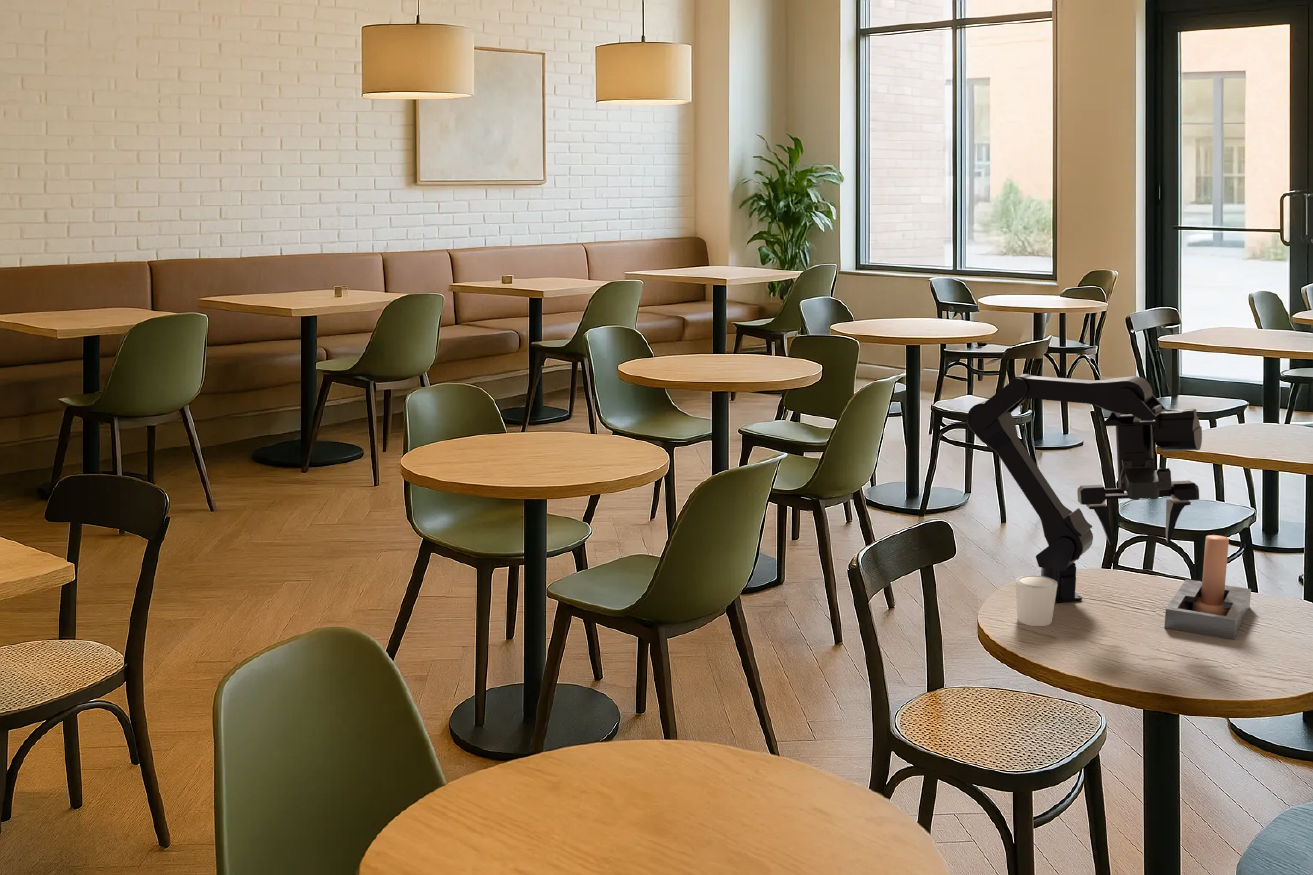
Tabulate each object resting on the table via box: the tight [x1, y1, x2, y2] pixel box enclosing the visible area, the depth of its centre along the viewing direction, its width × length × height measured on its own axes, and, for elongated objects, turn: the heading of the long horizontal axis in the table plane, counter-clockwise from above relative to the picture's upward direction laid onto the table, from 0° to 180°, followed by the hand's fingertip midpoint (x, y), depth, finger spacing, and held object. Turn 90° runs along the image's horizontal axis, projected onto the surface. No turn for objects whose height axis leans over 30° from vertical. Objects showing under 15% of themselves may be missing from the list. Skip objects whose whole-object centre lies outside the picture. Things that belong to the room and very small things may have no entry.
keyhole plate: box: [1164, 579, 1252, 640], centre depth 209 cm, size 18×11×3 cm, turn 147°
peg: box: [1192, 534, 1230, 616], centre depth 211 cm, size 6×6×13 cm
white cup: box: [1015, 575, 1058, 627], centre depth 208 cm, size 7×7×7 cm
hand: (1139, 543), depth 209 cm, fingers open, 9 cm apart
